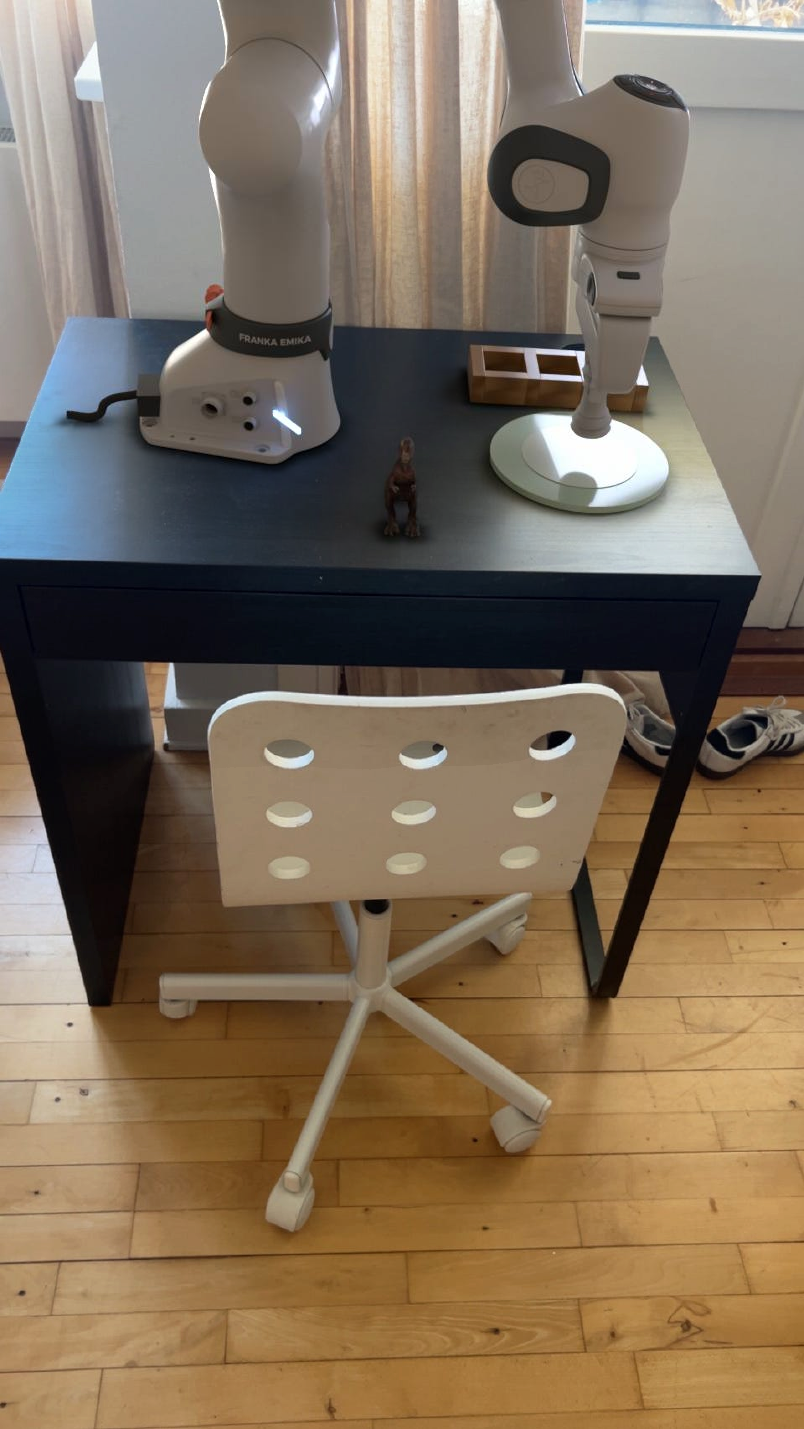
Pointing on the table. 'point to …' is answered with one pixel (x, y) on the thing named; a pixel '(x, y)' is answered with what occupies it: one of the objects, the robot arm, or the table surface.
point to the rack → (539, 378)
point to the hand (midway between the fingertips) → (593, 390)
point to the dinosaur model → (402, 490)
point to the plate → (578, 464)
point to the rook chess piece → (590, 413)
